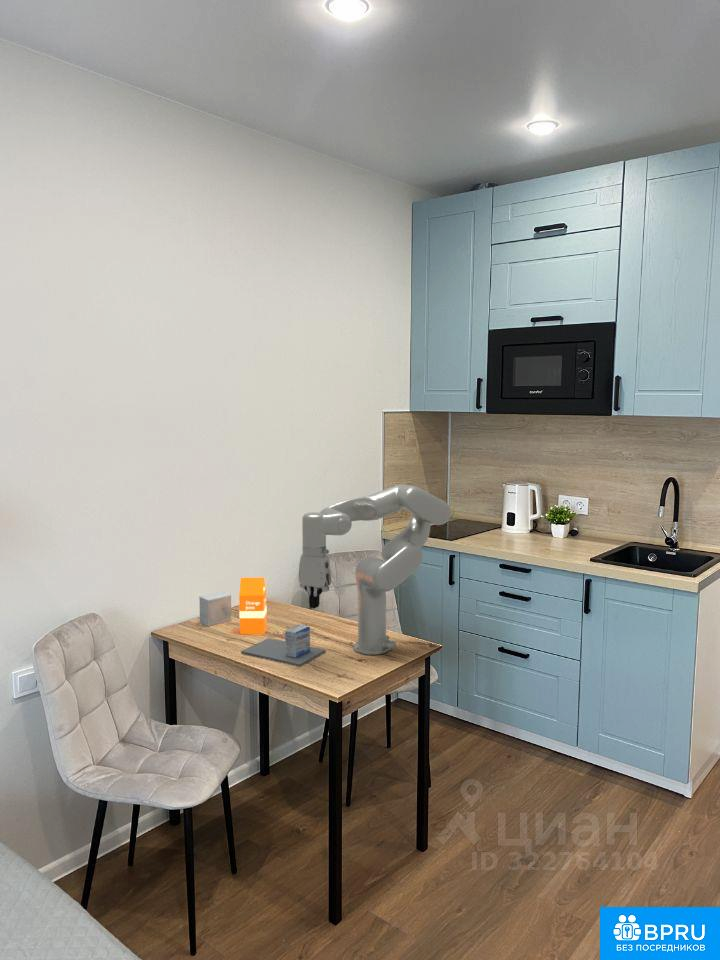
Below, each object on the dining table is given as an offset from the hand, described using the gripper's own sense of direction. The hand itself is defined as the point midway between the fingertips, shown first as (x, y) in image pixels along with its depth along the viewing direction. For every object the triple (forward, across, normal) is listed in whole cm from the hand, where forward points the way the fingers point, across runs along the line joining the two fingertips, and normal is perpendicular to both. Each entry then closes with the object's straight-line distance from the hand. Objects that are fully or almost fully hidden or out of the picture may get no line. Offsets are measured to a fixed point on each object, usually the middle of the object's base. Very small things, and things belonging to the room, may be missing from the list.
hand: (314, 607), depth 233 cm
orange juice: (+18, +36, -13) cm, 42 cm away
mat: (+18, +13, 0) cm, 22 cm away
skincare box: (+18, +55, -14) cm, 59 cm away
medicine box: (+17, +7, 0) cm, 19 cm away
